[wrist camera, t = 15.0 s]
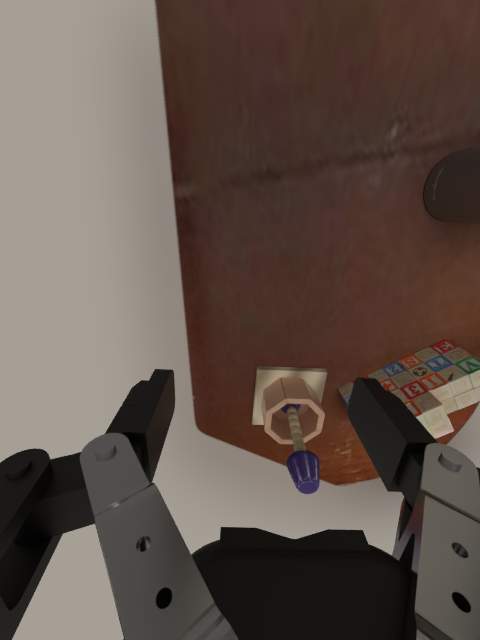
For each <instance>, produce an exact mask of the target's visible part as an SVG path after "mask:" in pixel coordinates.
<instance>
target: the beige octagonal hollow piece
mask: <svg viewBox="0 0 480 640" xmlns="http://www.w3.org/2000/svg"><path fill="white" fill-rule="evenodd" d="M287 403H290V404H301V406H300V409H299V410H298V411H297V415H298V421H299V423H300V429H301V431H302V436H303V439H304V443H305V442H307V441H308V440H310V439H311V438H313V437H315V436H316V435H318V434H319V433H320V432H321V430H322V426H323V421H324V417H325V413H324V411H323V408H322V406H321V404H320V401H319V399H318V397H317V394H316V392H315V391H314V390H313V389H312V388H311V386H310V385H309V384H308V383H307V382H306V381H305V380H304V379H302V378H285V377H281V378H279V379H277V380H276V381H275V382H273V383H272V384H270V385H269V386H268V387H266V388H265V389H264V390H263V397H262V415H263V423H264V430H265V432H266V433H268V434H269V435H270V436H271V437H272V438H273V439H274V440H276V441H277V442H278V443H280V444H293V441H292V435H291V428H290V426H289V420H288V414H287V413H284V412H283V411H282V410H281V409H280V408H282V407H283V406H285V405H286V404H287Z"/></svg>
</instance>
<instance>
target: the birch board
mask: <svg viewBox="0 0 480 640" xmlns="http://www.w3.org/2000/svg"><path fill="white" fill-rule="evenodd" d="M281 377H285V378H302V379H304V380H305V381H306V382H307V383H308V384H309V385H310V386H311V388H312V389H313V390H314V391H315V392H316V394H317V397H318V399H319V401H320V404H321V401H322V396H323V391H324V386H325V381H326V377H327V371H326V369H320V368H296V367H271V366H257V369H256V380H255V391H254V402H253V414H252V424H255V425H264V423H263V415H262V397H263V390H264V389H265V388H266V387H268V386H269V385H270V384H272V383H273V382H275V381H276V380H277V379H279V378H281Z"/></svg>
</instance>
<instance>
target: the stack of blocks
mask: <svg viewBox="0 0 480 640" xmlns="http://www.w3.org/2000/svg"><path fill="white" fill-rule="evenodd" d="M361 378H375V379H377V380H378V381H379V383H380V384H381V385H382V386H383V387H384V389H385V390H389V391H390V392H391V393H393V394H394V395H396V396H397V397H399V398H400V399H401V400H402V402H403V403H404V404H405V405H406V406H407V407H408V409H409V410H410V411H411V412H412V413H413V414H414V417H416V418H417V419H418V420H419V421H420V422H421V424H422V425H423V426H424V427H425V428H426V429H427V431H428V432H429V433H430V434H431V435H432V436H433V437H434V438H438V437H441V436H443V435H446V434H448V433H451V432H453V431H454V430H453V427H452V425H451V422H450V420H449V418H448V416H447V414H449V413H451V412H453V411H456V410H458V409H462V408H464V407H467V406H469V405H472V404H474V403H477V402H478V401H480V359H478V358H476V357H475V356H472V355H471V354H469V353H468V352H466V351H464V350H463V349H461V348H460V347H457V346H456V345H454V344H453V343H451V342H450V341H448V340H444V341H441V342H439V343H437V344H435V345H433V346H431V347H427V348H425V349H423V350H421V351H419V352H416V353H415V354H412V355H410V356H408V357H405V358H403V359H401V360H399V361H398V362H395V363H393V364H390V365H388V366H386V367H384V368H382V369H380V370H378V371H375V372H373V373H371V374H369V375H366V376H364V377H361ZM353 385H354V381H353V382H350V383H348V384H346V385H344V386H341V387H339V388H338V390H339V392H340V394H341V396H342V398H343V399H344V401H345V403H346V405H347V407H348V404H349V400H350V396H351V392H352V389H353Z"/></svg>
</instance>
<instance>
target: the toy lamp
mask: <svg viewBox="0 0 480 640" xmlns="http://www.w3.org/2000/svg"><path fill="white" fill-rule="evenodd" d="M300 406H301V404H290V403H287V404H286V405H285V406H283V407H282V408H280V409H281V410H282V411H283V412H284V413H287V414H288V420H289V426H290V428H291V435H292V441H293V444H294V450H295V452H294V453H292V454H291V455H290V456H289V457H288V459H287V467H288V470H289V472H290V475H291V477H292V479H293V481H294V483H295V485H296V487H297V489H298V490H299V491H300V492H301V493H304V494H311V493H314V492H316V491H317V490H318V488H319V459H318V457H317V456H316V455H315V454H314V453H313V452H310V451H306V447H305V444H304V439H303V436H302V431H301V429H300V423H299V421H298V415H297V411H298V410H299V409H300Z"/></svg>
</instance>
